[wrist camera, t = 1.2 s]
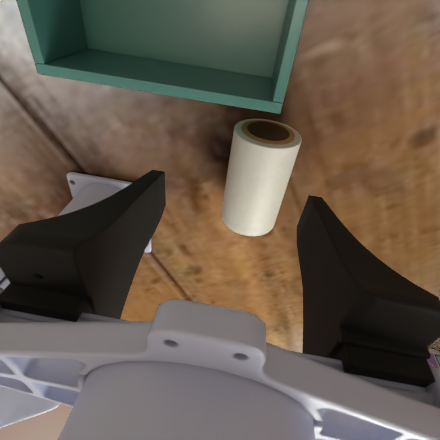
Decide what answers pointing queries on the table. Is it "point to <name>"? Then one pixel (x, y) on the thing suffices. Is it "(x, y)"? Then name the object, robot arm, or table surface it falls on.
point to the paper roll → (258, 174)
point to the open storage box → (171, 46)
